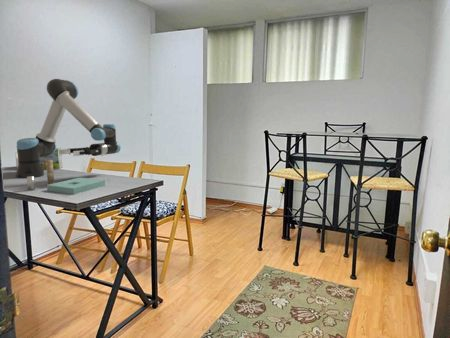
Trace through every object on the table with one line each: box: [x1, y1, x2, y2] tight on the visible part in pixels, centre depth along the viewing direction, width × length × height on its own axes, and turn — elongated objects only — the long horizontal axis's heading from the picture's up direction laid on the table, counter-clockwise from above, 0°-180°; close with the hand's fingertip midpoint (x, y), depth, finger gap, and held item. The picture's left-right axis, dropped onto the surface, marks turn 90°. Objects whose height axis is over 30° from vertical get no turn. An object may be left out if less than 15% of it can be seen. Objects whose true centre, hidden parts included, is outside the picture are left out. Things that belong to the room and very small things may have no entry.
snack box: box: [40, 147, 63, 170], centre depth 227 cm, size 21×6×15 cm, turn 90°
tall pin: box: [46, 160, 55, 185], centre depth 176 cm, size 3×3×14 cm
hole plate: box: [46, 177, 106, 195], centre depth 171 cm, size 18×22×3 cm
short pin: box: [26, 176, 36, 191], centre depth 165 cm, size 3×3×7 cm
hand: (66, 152), depth 182 cm, fingers open, 13 cm apart
